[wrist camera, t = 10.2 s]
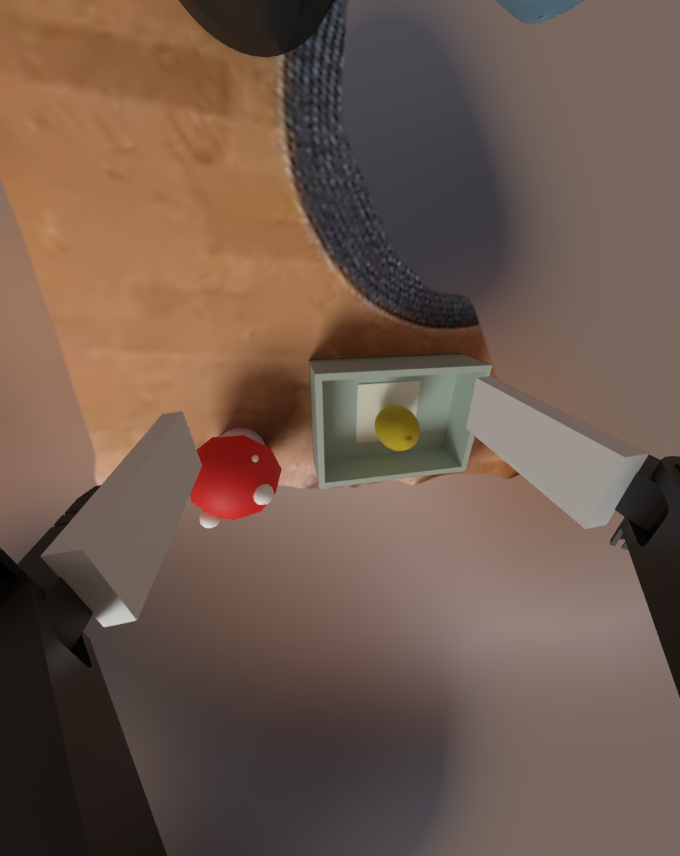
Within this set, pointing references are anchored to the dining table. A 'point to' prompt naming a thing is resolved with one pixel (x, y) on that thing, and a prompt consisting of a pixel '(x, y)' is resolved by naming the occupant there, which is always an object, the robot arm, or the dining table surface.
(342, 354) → the dining table surface
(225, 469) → the mushroom
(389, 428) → the lemon
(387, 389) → the crate
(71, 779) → the robot arm
